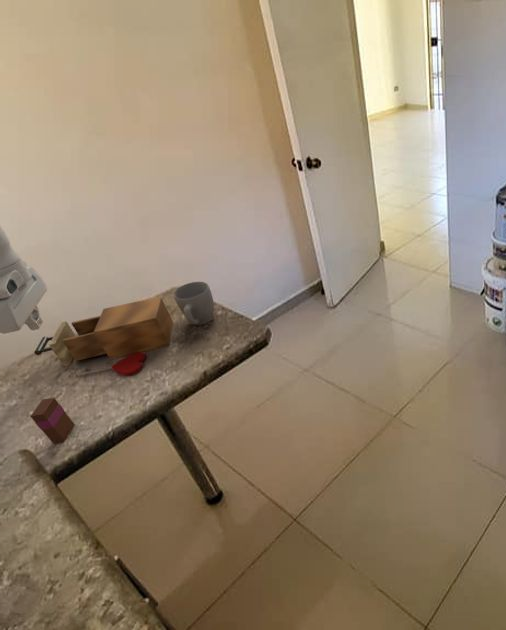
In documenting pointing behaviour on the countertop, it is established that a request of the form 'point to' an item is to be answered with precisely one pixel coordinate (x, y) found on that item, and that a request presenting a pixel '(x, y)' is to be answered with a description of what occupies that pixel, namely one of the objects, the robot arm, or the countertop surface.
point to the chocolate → (52, 420)
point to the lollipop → (126, 365)
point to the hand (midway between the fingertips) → (37, 326)
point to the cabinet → (134, 327)
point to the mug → (195, 302)
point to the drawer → (73, 341)
